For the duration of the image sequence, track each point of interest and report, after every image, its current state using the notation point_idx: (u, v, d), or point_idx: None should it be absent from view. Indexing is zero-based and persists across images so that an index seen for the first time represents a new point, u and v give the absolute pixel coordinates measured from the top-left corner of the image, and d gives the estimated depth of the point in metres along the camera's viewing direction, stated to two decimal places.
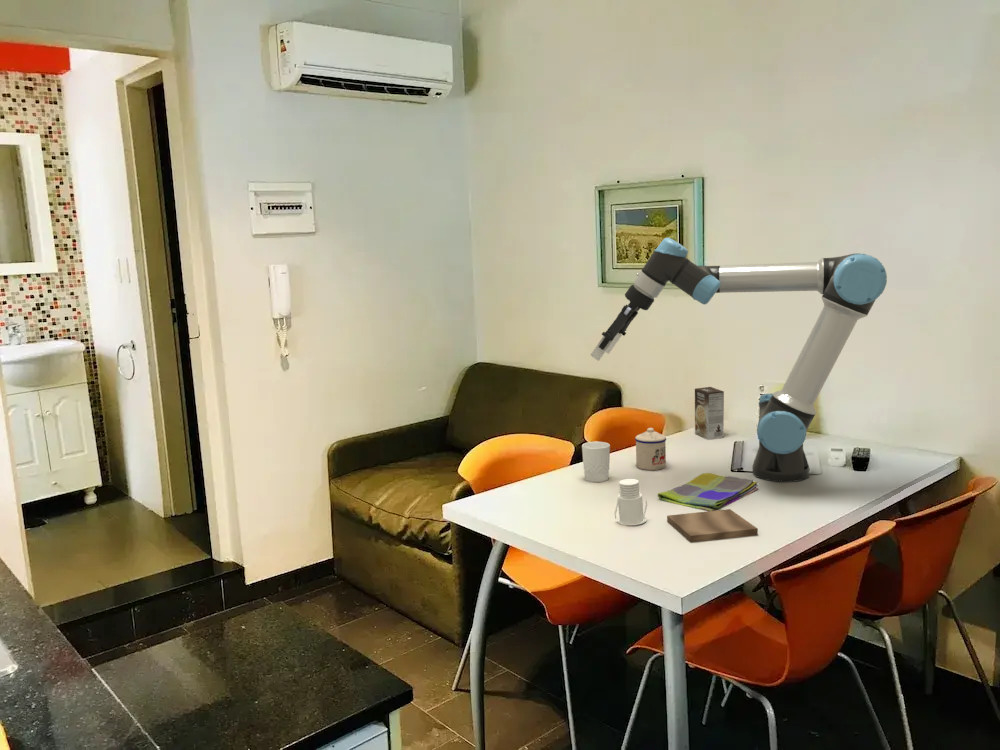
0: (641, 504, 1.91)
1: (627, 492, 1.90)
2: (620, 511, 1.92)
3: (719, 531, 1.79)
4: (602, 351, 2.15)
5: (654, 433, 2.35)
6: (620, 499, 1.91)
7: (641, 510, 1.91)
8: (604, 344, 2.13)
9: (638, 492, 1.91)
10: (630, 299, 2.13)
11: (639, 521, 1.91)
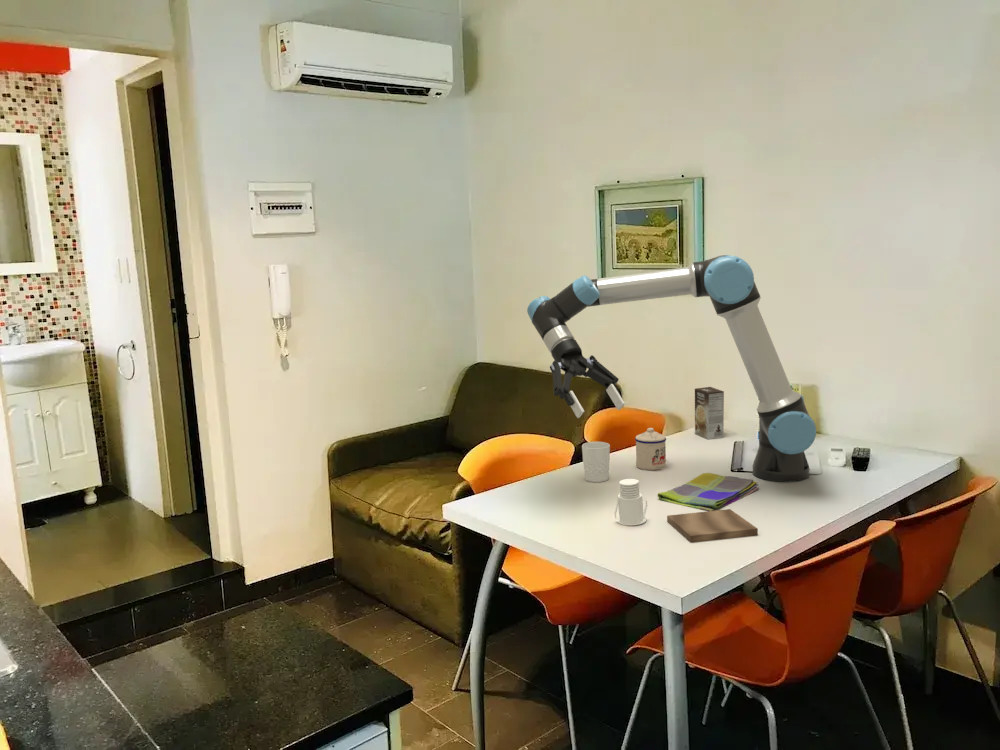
0: (641, 504, 1.91)
1: (627, 492, 1.90)
2: (620, 511, 1.92)
3: (719, 531, 1.79)
4: (575, 404, 1.99)
5: (654, 433, 2.35)
6: (620, 499, 1.91)
7: (641, 510, 1.91)
8: (567, 399, 2.00)
9: (638, 492, 1.91)
10: (556, 360, 2.09)
11: (639, 521, 1.91)
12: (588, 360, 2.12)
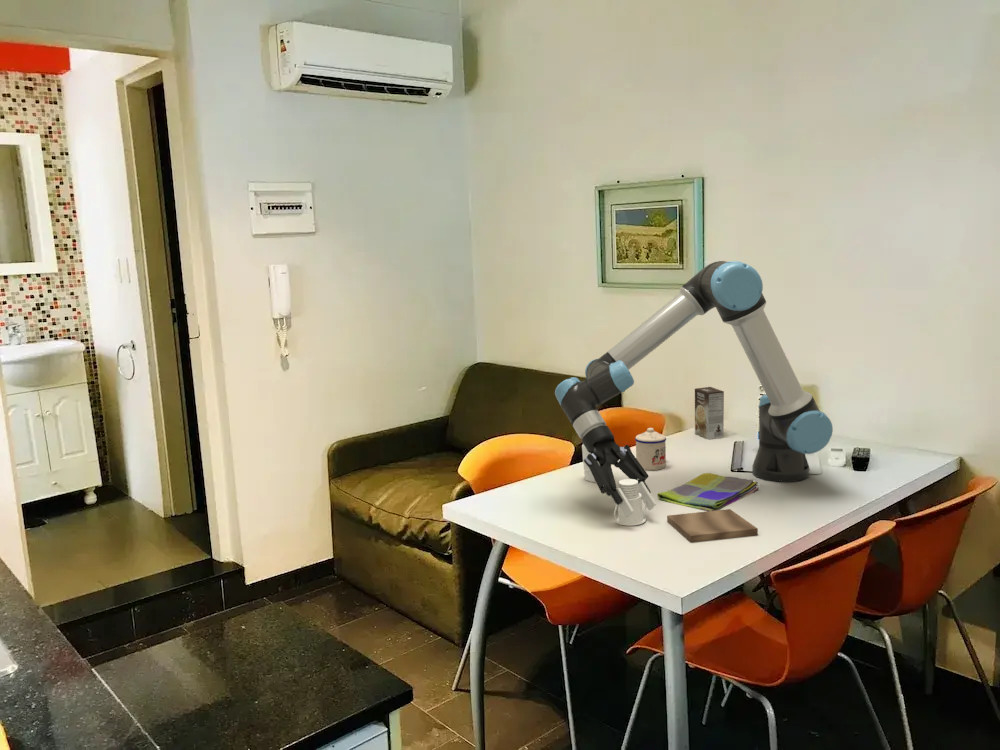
0: (640, 504, 1.91)
1: (626, 492, 1.90)
2: (619, 511, 1.92)
3: (719, 531, 1.79)
4: (624, 502, 1.88)
5: (654, 433, 2.35)
6: None
7: (640, 510, 1.91)
8: (615, 497, 1.89)
9: (637, 492, 1.91)
10: (587, 448, 1.98)
11: (638, 521, 1.90)
12: (622, 449, 2.00)
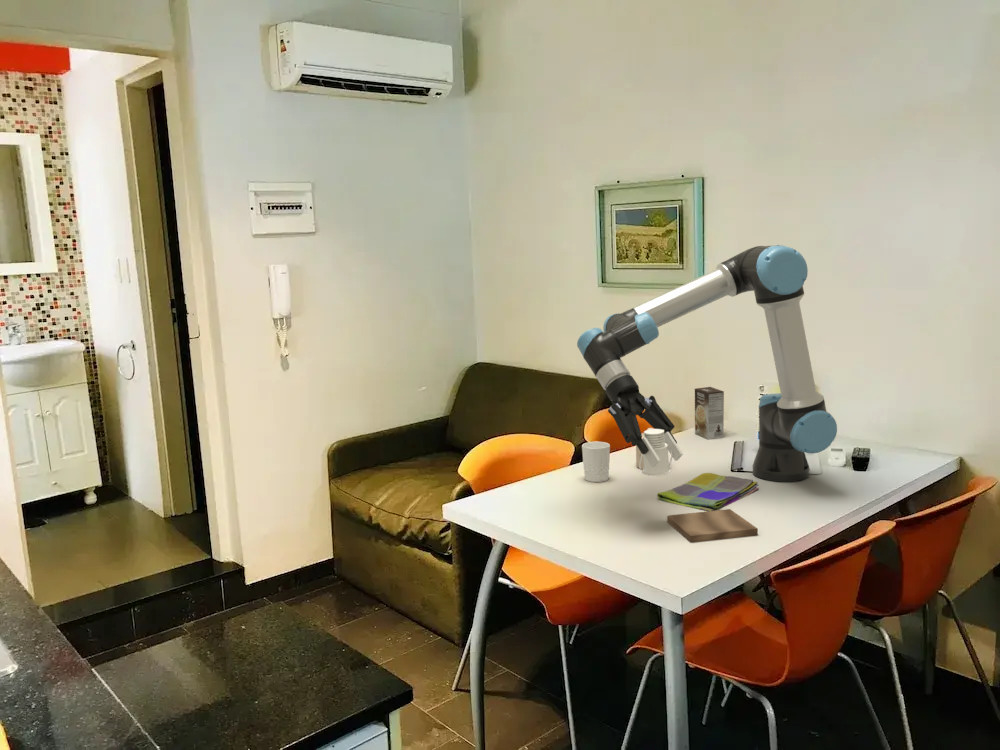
0: (666, 454, 1.85)
1: (652, 442, 1.84)
2: (645, 461, 1.86)
3: (719, 531, 1.79)
4: (650, 452, 1.83)
5: None
6: None
7: (666, 460, 1.86)
8: (641, 446, 1.84)
9: (663, 442, 1.85)
10: (611, 399, 1.93)
11: (664, 472, 1.85)
12: (647, 399, 1.95)
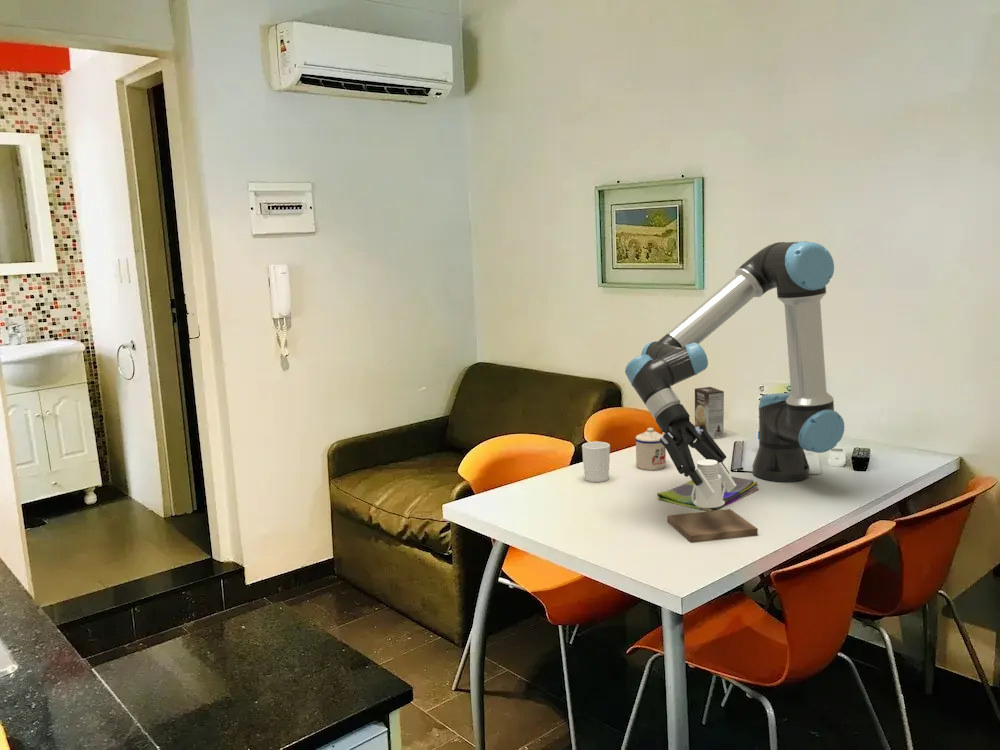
0: (720, 486, 1.82)
1: (706, 473, 1.81)
2: (697, 493, 1.83)
3: (719, 531, 1.79)
4: (704, 483, 1.80)
5: (654, 433, 2.35)
6: None
7: (720, 492, 1.82)
8: (694, 478, 1.81)
9: (717, 473, 1.82)
10: (662, 428, 1.90)
11: (718, 503, 1.82)
12: (697, 429, 1.92)
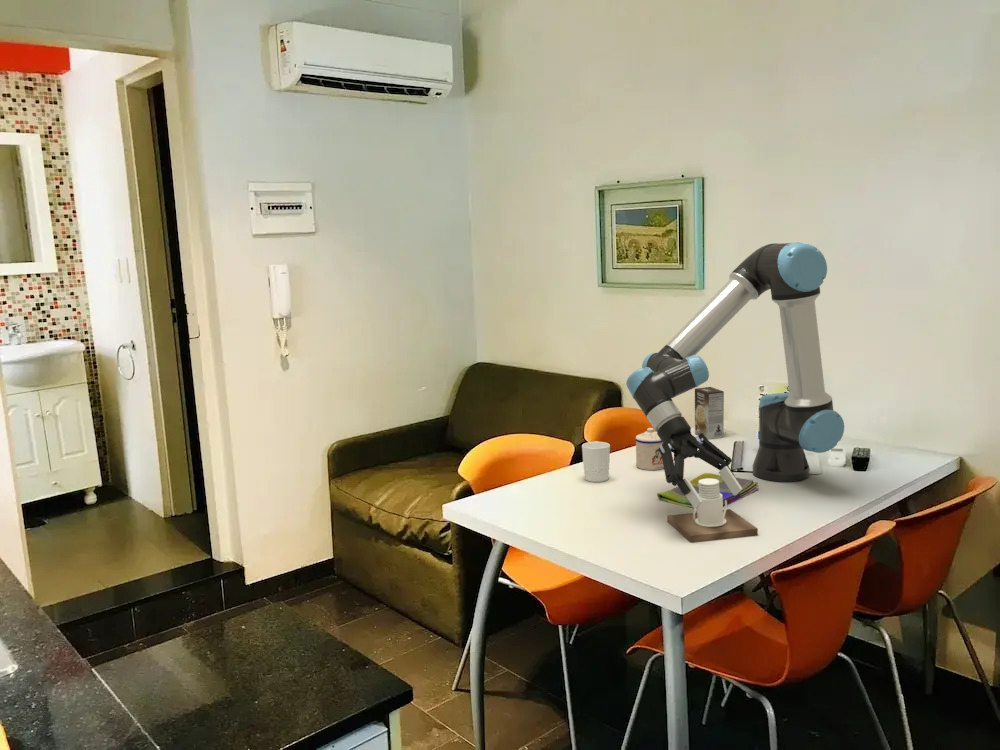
0: (721, 505, 1.83)
1: (707, 492, 1.82)
2: (699, 512, 1.84)
3: (719, 531, 1.79)
4: (692, 493, 1.80)
5: (654, 433, 2.35)
6: None
7: (721, 511, 1.83)
8: (682, 487, 1.80)
9: (718, 492, 1.83)
10: (663, 441, 1.90)
11: (719, 522, 1.83)
12: (697, 439, 1.92)
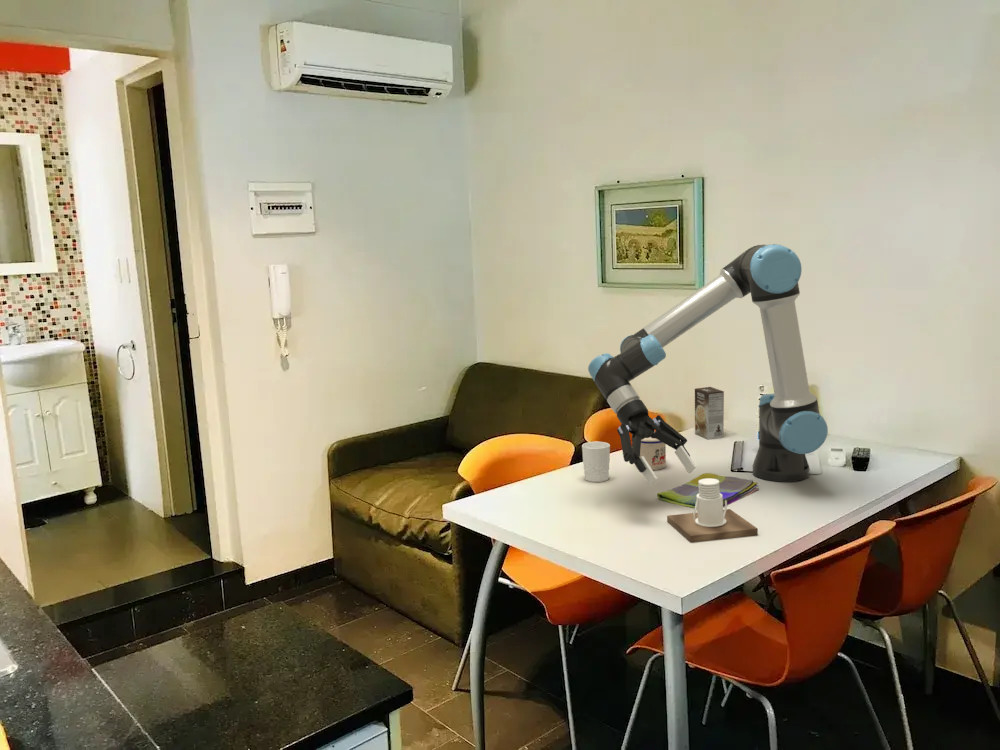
0: (721, 505, 1.83)
1: (707, 492, 1.82)
2: (699, 512, 1.84)
3: (719, 531, 1.79)
4: (648, 470, 1.91)
5: None
6: (700, 499, 1.83)
7: (721, 511, 1.83)
8: (639, 465, 1.92)
9: (718, 492, 1.83)
10: (622, 422, 2.01)
11: (719, 522, 1.83)
12: (655, 420, 2.04)
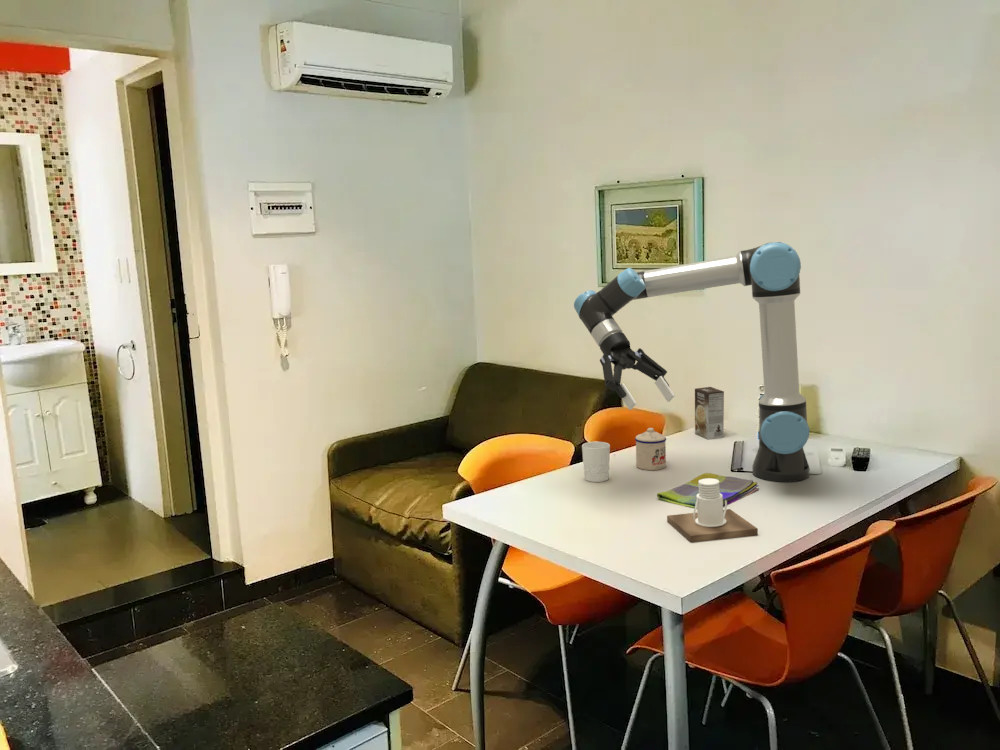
0: (721, 505, 1.83)
1: (707, 492, 1.82)
2: (699, 512, 1.84)
3: (719, 531, 1.79)
4: (627, 396, 2.01)
5: (654, 433, 2.35)
6: (700, 499, 1.83)
7: (721, 511, 1.83)
8: (619, 391, 2.02)
9: (718, 492, 1.83)
10: (605, 354, 2.12)
11: (719, 522, 1.83)
12: (636, 353, 2.14)
